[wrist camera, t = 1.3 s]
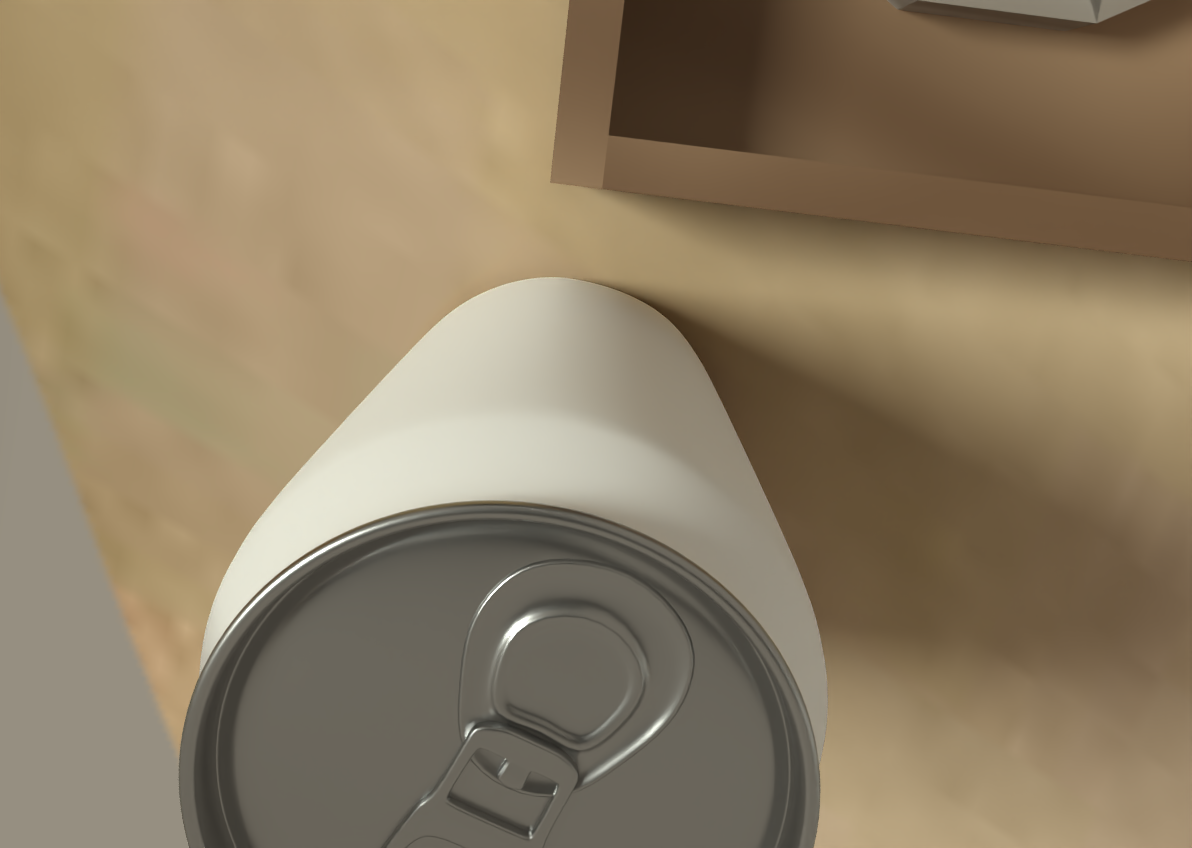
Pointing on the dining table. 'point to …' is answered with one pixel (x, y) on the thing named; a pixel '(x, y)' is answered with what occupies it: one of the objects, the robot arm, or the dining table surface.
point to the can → (516, 610)
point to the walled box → (894, 112)
